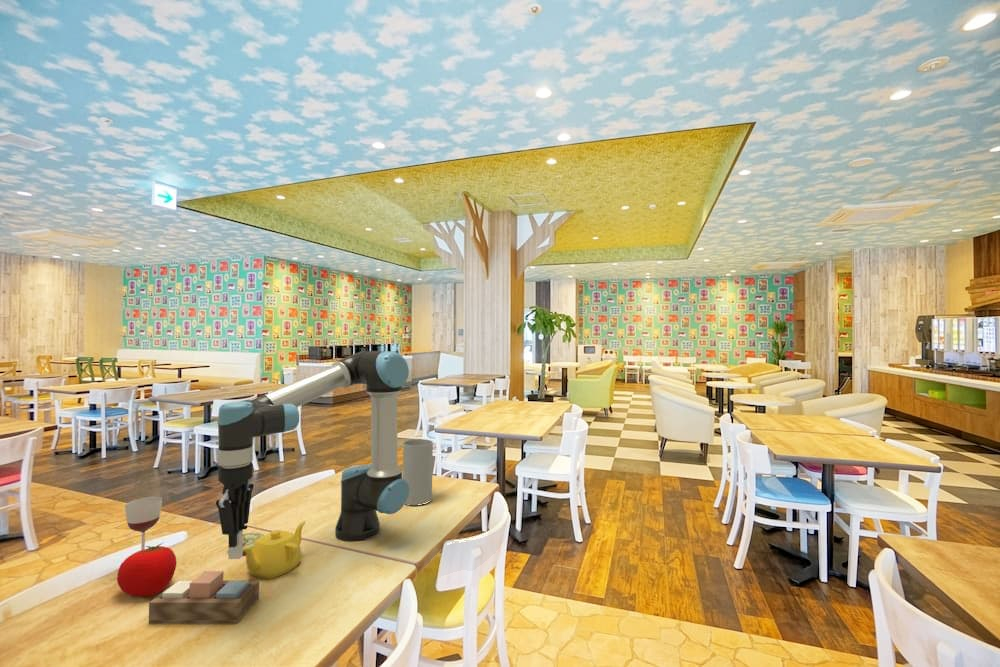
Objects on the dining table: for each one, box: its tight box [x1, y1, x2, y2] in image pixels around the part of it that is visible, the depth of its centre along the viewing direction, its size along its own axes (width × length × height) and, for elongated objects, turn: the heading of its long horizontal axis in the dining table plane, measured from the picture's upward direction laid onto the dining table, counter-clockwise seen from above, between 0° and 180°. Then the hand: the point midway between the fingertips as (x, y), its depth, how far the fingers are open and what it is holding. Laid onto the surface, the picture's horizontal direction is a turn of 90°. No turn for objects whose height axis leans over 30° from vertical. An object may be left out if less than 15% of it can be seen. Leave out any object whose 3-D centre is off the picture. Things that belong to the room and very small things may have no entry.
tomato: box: [116, 542, 177, 598], centre depth 121 cm, size 12×14×11 cm
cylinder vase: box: [402, 438, 434, 506], centre depth 192 cm, size 12×12×25 cm
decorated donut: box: [243, 532, 265, 556], centre depth 147 cm, size 10×11×4 cm
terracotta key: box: [189, 570, 225, 599], centre depth 113 cm, size 5×6×5 cm
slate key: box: [216, 580, 250, 599], centre depth 113 cm, size 5×6×5 cm
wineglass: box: [124, 496, 163, 551], centre depth 132 cm, size 8×9×20 cm
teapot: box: [243, 520, 307, 580], centre depth 134 cm, size 22×16×11 cm
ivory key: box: [161, 580, 192, 599], centre depth 113 cm, size 5×6×5 cm
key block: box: [148, 579, 260, 625], centre depth 113 cm, size 21×10×5 cm, turn 91°
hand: (235, 557), depth 114 cm, fingers closed
